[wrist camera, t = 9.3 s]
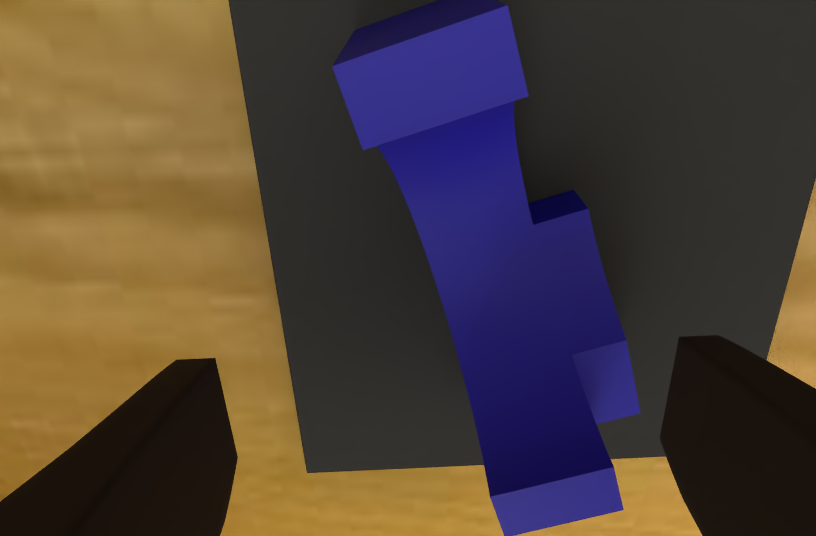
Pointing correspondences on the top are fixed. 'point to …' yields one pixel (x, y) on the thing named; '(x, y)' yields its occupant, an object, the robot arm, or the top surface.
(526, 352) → the blue angular piece
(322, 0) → the mat
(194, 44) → the top surface
